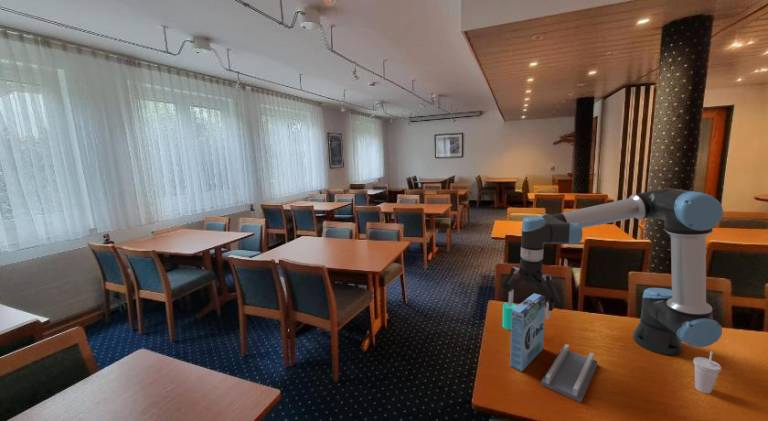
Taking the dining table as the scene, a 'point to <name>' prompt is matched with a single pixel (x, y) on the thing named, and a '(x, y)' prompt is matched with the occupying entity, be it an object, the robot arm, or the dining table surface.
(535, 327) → the gum box
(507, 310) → the candle
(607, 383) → the dining table surface
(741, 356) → the dining table surface
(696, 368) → the smoothie
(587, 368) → the door track
